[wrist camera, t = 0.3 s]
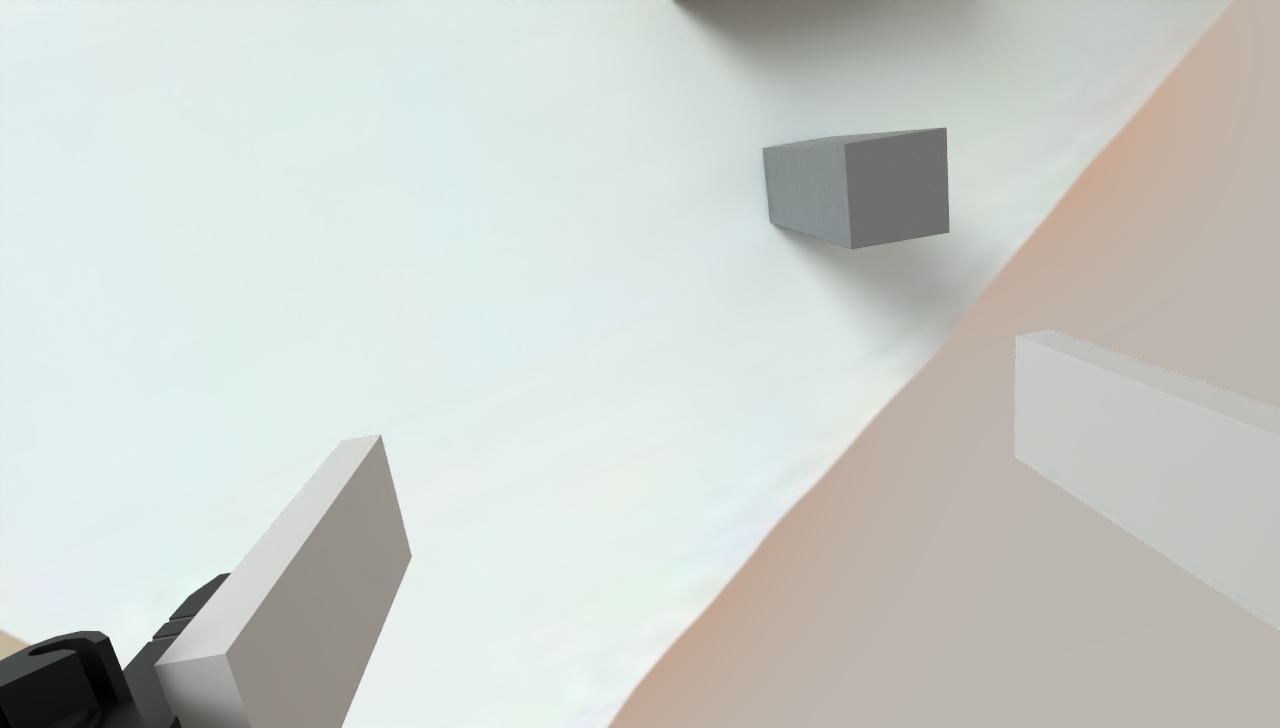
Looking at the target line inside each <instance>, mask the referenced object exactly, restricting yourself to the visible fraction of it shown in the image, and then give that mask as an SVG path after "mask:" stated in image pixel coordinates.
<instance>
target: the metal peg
mask: <svg viewBox="0 0 1280 728" xmlns="http://www.w3.org/2000/svg"><path fill="white" fill-rule="evenodd" d="M763 155H764V165H765V175H766V185H767V195H768V205H769V216H770V223H773V224H776V225H779V226H782V227H785V228H788V229H791V230H794V231H797V232H800V233H803V234H806V235H810V236H813V237H816V238H819V239H822V240H825V241H828V242H831V243H834V244H837V245H840V246H843V247H846V248H850V249H855V248H861V247H867V246H873V245H879V244H884V243H890V242H896V241H902V240H908V239H914V238H920V237H926V236H931V235H937V234H943V233H949V203H948V168H947V132H946V128H934V129H922V130H909V131H897V132H885V133H872V134H860V135H848V136H836V137H829V138H823V139H817V140H811V141H804V142H798V143H792V144H786V145H780V146H774V147H768V148H763Z"/></svg>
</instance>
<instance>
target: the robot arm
mask: <svg viewBox="0 0 1280 728" xmlns="http://www.w3.org/2000/svg"><path fill="white" fill-rule="evenodd" d="M1015 340H1016V341H1015V347H1016V348H1015V415H1014V416H1015V417H1014V457H1015V458H1017V459H1018V460H1020V461H1022V462H1023V463H1025V464H1026V465H1028V466H1029V467H1031V468H1032V469H1034V470H1035V471H1037V472H1038V473H1040V474H1041V475H1043V476H1044V477H1046V478H1047V479H1049V480H1051V481H1052V482H1053V483H1055V484H1057V485H1058V486H1059V487H1061V488H1062V489H1064V490H1065V491H1067V492H1069V493H1070V494H1072V495H1073V496H1075V497H1076V498H1078V499H1079V500H1081V501H1082V502H1084V503H1085V504H1087V505H1088V506H1090V507H1091V508H1093V509H1094V510H1096V511H1097V512H1099V513H1100V514H1102V515H1103V516H1105V517H1106V518H1108V519H1109V520H1111V521H1112V522H1114V523H1116V524H1117V525H1119V526H1120V527H1122V528H1123V529H1125V530H1126V531H1128V532H1129V533H1131V534H1132V535H1134V536H1135V537H1137V538H1138V539H1140V540H1141V541H1143V542H1144V543H1146V544H1147V545H1149V546H1150V547H1152V548H1153V549H1155V550H1156V551H1158V552H1160V553H1161V554H1163V555H1164V556H1166V557H1167V558H1169V559H1170V560H1172V561H1173V562H1175V563H1176V564H1178V565H1179V566H1181V567H1182V568H1184V569H1185V570H1187V571H1188V572H1190V573H1191V574H1193V575H1194V576H1196V577H1197V578H1199V579H1200V580H1202V581H1203V582H1205V583H1206V584H1208V585H1209V586H1211V587H1212V588H1214V589H1216V590H1217V591H1219V592H1220V593H1222V594H1223V595H1225V596H1226V597H1228V598H1229V599H1231V600H1232V601H1234V602H1235V603H1237V604H1238V605H1240V606H1241V607H1243V608H1244V609H1246V610H1247V611H1249V612H1250V613H1252V614H1253V615H1255V616H1256V617H1258V618H1259V619H1261V620H1263V621H1264V622H1266V623H1267V624H1269V625H1270V626H1272V627H1273V628H1275V629H1276V630H1278V631H1279V632H1280V408H1278V407H1275V406H1272V405H1269V404H1266V403H1263V402H1260V401H1257V400H1254V399H1251V398H1248V397H1245V396H1243V395H1240V394H1237V393H1234V392H1231V391H1228V390H1225V389H1222V388H1219V387H1216V386H1214V385H1211V384H1208V383H1204V382H1202V381H1199V380H1196V379H1193V378H1190V377H1187V376H1184V375H1182V374H1179V373H1176V372H1173V371H1170V370H1167V369H1164V368H1161V367H1158V366H1155V365H1152V364H1149V363H1147V362H1144V361H1141V360H1138V359H1135V358H1132V357H1129V356H1126V355H1123V354H1120V353H1118V352H1115V351H1112V350H1108V349H1106V348H1103V347H1100V346H1097V345H1094V344H1091V343H1088V342H1086V341H1083V340H1080V339H1077V338H1074V337H1071V336H1068V335H1065V334H1062V333H1059V332H1056V331H1053V330H1045V331H1039V332H1032V333H1027V334H1019V335H1016V339H1015ZM411 557H412V556H411V552H410V548H409V544H408V540H407V536H406V532H405V528H404V524H403V520H402V516H401V512H400V508H399V504H398V500H397V496H396V492H395V488H394V484H393V480H392V476H391V472H390V468H389V464H388V461H387V457H386V453H385V449H384V445H383V441H382V437H381V435H375V436H369V437H362V438H356V439H350V440H343V441H341V443H340V444H339V445H338V446H337V447H336V449H335V450H334V451H333V452H332V453H331V455H330V456H329V457H328V458H327V459H326V461H325V462H324V463H323V464H322V465H321V467H320V468H319V469H318V470H317V471H316V472H315V474H314V475H313V476H312V477H311V478H310V480H309V481H308V482H307V483H306V484H305V486H304V487H303V488H302V489H301V490H300V492H299V493H298V494H297V495H296V496H295V498H294V499H293V500H292V501H291V502H290V504H289V505H288V506H287V507H286V508H285V510H284V511H283V512H282V513H281V514H280V516H279V517H278V518H277V519H276V520H275V521H274V523H273V524H272V525H271V526H270V527H269V529H268V530H267V531H266V532H265V533H264V535H263V536H262V537H261V538H260V539H259V541H258V542H257V543H256V544H255V545H254V547H253V548H252V549H251V550H250V551H249V553H248V554H247V555H246V556H245V557H244V559H243V560H242V561H241V562H240V563H239V565H238V566H237V567H236V568H235V569H234V570H233V572H232V573H226V574H220V575H218V576H217V577H216V578H214V579H213V580H211V581H210V582H208V583H207V584H206V585H204V586H203V587H201V588H200V589H198V590H197V591H196V592H194V593H193V594H191V595H190V596H189V597H188V598H187V599H186V600H185V601H184V602H183V604H182V605H181V606H180V607H179V608H178V609H177V610H176V611H175V613H174V614H173V615H172V616H171V617H170V618H169V622H168V623H165V624H164V625H163V626H162V627H161V628H160V629H159V630H158V632H157V633H156V634H155V635H154V636H153V637H152V638H153V641H152V642H148V643H147V644H146V645H145V646H144V647H143V648H142V650H141V651H140V652H139V653H138V654H137V655H136V656H135V657H134V659H133V660H132V661H131V662H130V663H129V664H128V665H127V666H126V668H125V669H124V670H123V671H122V669H121V666H120V664H119V661H118V659H117V656H116V654H115V651H114V649H113V646H112V644H111V641H110V639H109V637H108V636H106V635H105V634H103V633H101V632H100V631H79V632H74V633H70V634H65V635H61V636H56V637H53V638H51V639H48V640H45V641H42V642H40V643H37V644H34V645H32V646H29V647H27V648H25V649H23V650H21V651H19V652H17V653H15V654H13V655H11V656H9V657H7V658H5V659H3V660H1V661H0V728H341V727H342V725H343V722H344V720H345V717H346V715H347V712H348V710H349V708H350V705H351V703H352V700H353V698H354V695H355V693H356V691H357V688H358V686H359V683H360V681H361V678H362V676H363V674H364V671H365V669H366V666H367V664H368V661H369V659H370V656H371V654H372V652H373V649H374V647H375V644H376V642H377V639H378V637H379V635H380V632H381V630H382V627H383V625H384V622H385V620H386V618H387V615H388V613H389V610H390V608H391V605H392V603H393V601H394V598H395V596H396V593H397V591H398V588H399V586H400V584H401V581H402V579H403V576H404V574H405V571H406V569H407V567H408V564H409V562H410V559H411Z"/></svg>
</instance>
